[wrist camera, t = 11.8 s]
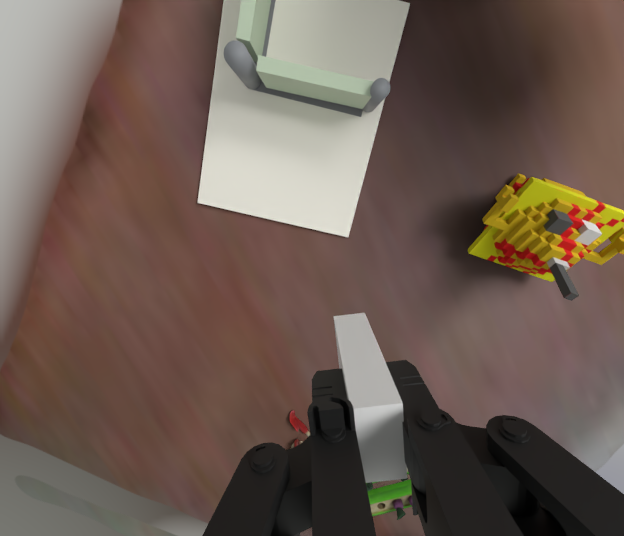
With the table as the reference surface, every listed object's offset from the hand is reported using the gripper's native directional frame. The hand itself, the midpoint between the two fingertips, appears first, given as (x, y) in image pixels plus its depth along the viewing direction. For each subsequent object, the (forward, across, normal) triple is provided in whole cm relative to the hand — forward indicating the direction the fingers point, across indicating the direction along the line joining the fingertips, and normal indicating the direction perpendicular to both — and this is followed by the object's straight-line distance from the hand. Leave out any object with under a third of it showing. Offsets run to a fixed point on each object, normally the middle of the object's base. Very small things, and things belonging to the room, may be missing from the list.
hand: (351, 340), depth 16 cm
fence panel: (+23, +1, +16) cm, 28 cm away
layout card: (+24, -2, +15) cm, 29 cm away
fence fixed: (+24, -4, +23) cm, 34 cm away
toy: (+24, +23, 0) cm, 33 cm away
